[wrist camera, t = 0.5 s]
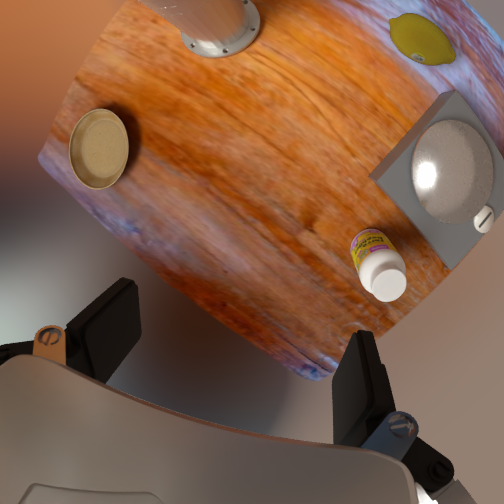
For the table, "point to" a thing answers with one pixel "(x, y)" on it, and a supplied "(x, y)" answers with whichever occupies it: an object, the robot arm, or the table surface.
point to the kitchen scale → (403, 196)
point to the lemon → (421, 40)
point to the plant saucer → (98, 149)
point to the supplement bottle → (378, 265)
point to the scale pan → (451, 171)
